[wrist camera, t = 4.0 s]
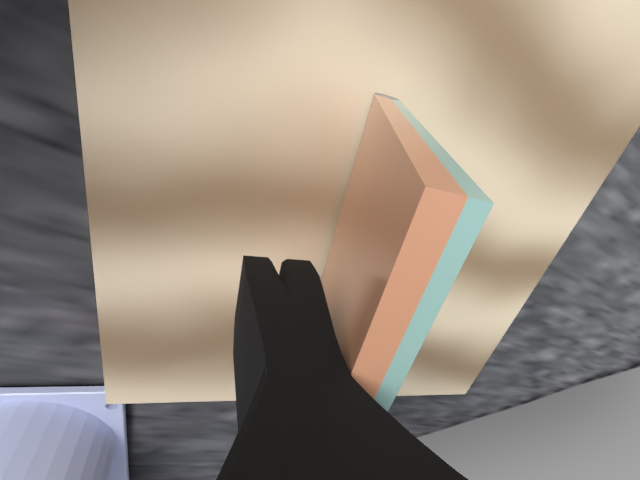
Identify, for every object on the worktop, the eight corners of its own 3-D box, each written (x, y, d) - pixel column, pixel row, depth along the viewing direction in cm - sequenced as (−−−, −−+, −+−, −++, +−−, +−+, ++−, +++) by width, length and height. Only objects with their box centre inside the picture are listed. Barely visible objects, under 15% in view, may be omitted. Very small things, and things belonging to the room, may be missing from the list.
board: (455, 377, 23) (465, 394, 22) (113, 381, 17) (106, 404, 16) (683, 2, 13) (720, 1, 12) (66, -252, 8) (40, -292, 7)
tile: (306, 326, 16) (324, 329, 16) (275, 564, 9) (307, 569, 9) (372, 91, 11) (397, 97, 11) (425, 187, 4) (493, 203, 4)
